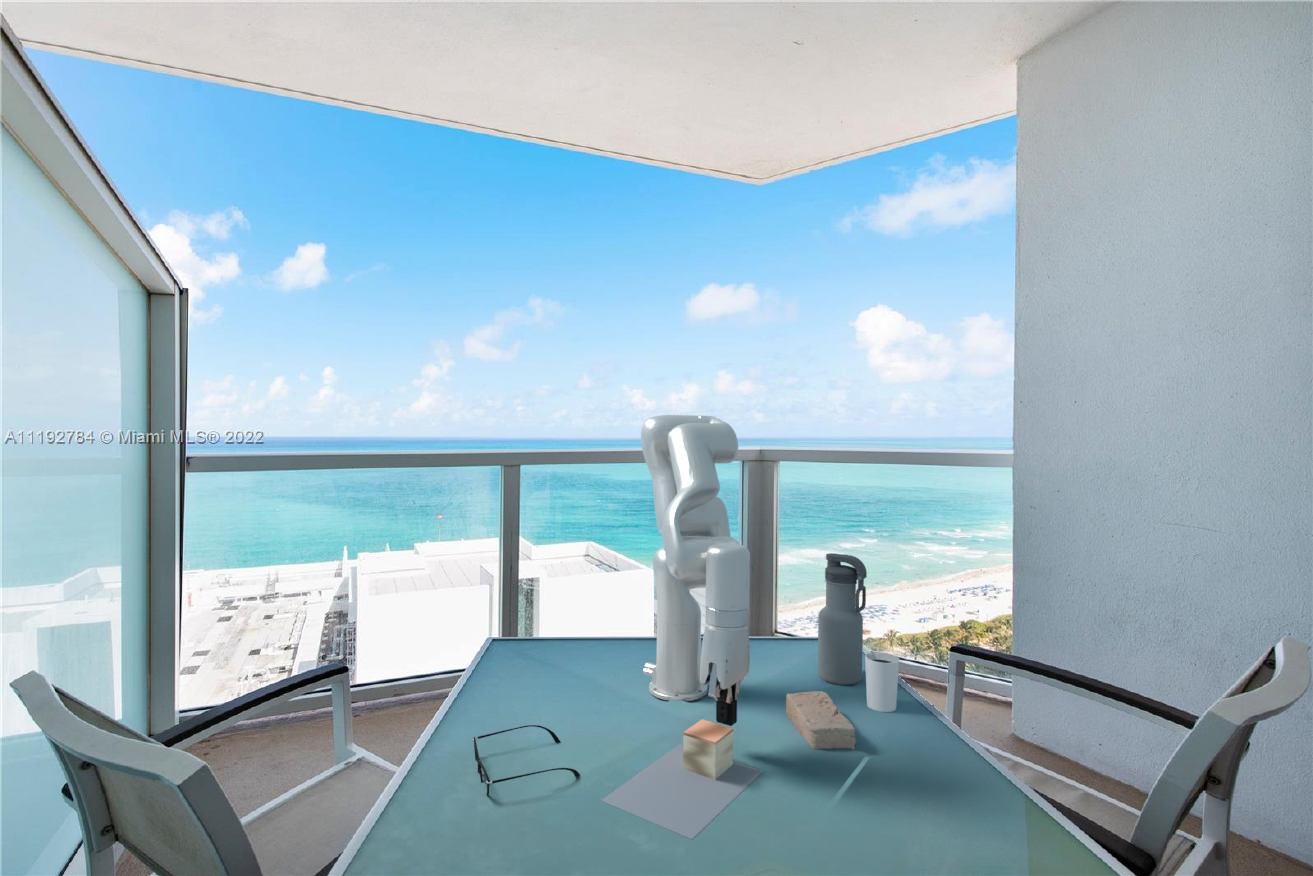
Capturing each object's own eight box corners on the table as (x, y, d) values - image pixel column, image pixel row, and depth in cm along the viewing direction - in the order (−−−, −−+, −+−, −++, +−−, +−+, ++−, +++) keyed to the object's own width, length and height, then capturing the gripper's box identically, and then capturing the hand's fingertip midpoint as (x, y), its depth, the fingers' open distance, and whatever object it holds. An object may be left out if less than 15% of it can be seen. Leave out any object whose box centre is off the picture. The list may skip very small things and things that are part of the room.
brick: (857, 752, 115) (858, 726, 115) (812, 754, 114) (812, 727, 114) (824, 713, 132) (824, 690, 132) (784, 714, 131) (784, 691, 131)
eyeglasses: (469, 756, 113) (469, 733, 113) (558, 739, 119) (558, 718, 119) (484, 807, 98) (484, 780, 98) (586, 785, 104) (586, 760, 104)
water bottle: (868, 676, 151) (870, 554, 151) (857, 690, 143) (858, 561, 142) (825, 667, 156) (826, 550, 156) (811, 680, 148) (813, 556, 148)
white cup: (894, 715, 130) (895, 665, 130) (860, 708, 133) (861, 659, 133) (901, 704, 135) (902, 656, 135) (869, 697, 139) (869, 650, 139)
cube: (682, 768, 107) (683, 732, 107) (701, 754, 112) (702, 719, 112) (714, 780, 104) (715, 742, 104) (732, 764, 109) (733, 728, 109)
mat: (600, 804, 98) (600, 800, 98) (680, 747, 116) (680, 743, 116) (692, 843, 89) (692, 839, 89) (762, 774, 107) (762, 771, 107)
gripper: (728, 604, 121) (727, 703, 121) (686, 622, 109) (685, 733, 109) (765, 610, 117) (764, 713, 117) (726, 630, 105) (724, 745, 105)
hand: (726, 722), depth 113 cm, fingers closed
